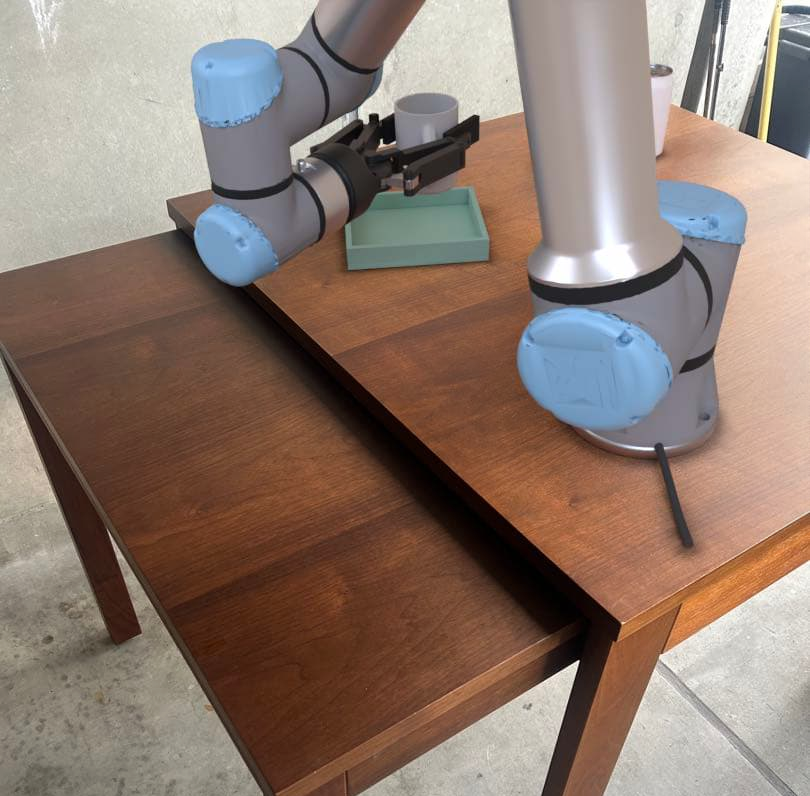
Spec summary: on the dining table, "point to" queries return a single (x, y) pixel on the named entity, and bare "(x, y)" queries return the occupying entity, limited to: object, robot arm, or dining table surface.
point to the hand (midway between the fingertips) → (446, 120)
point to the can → (661, 101)
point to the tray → (418, 230)
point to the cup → (426, 127)
